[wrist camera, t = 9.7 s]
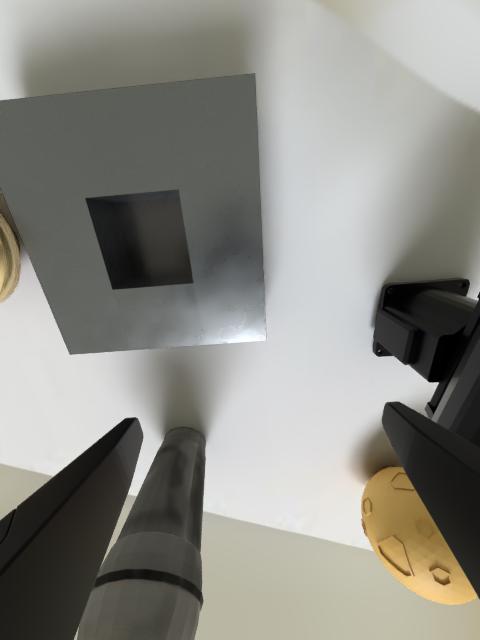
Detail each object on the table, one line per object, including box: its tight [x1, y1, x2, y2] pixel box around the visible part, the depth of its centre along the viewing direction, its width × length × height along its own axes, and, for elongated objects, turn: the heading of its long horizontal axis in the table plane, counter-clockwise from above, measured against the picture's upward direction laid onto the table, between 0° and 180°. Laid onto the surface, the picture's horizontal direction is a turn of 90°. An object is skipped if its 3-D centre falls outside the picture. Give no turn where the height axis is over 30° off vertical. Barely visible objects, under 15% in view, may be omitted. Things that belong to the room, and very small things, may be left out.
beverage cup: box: [77, 428, 206, 640], centre depth 16 cm, size 7×7×20 cm
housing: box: [0, 73, 266, 355], centre depth 16 cm, size 14×14×4 cm
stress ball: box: [361, 466, 477, 605], centre depth 23 cm, size 10×10×10 cm
